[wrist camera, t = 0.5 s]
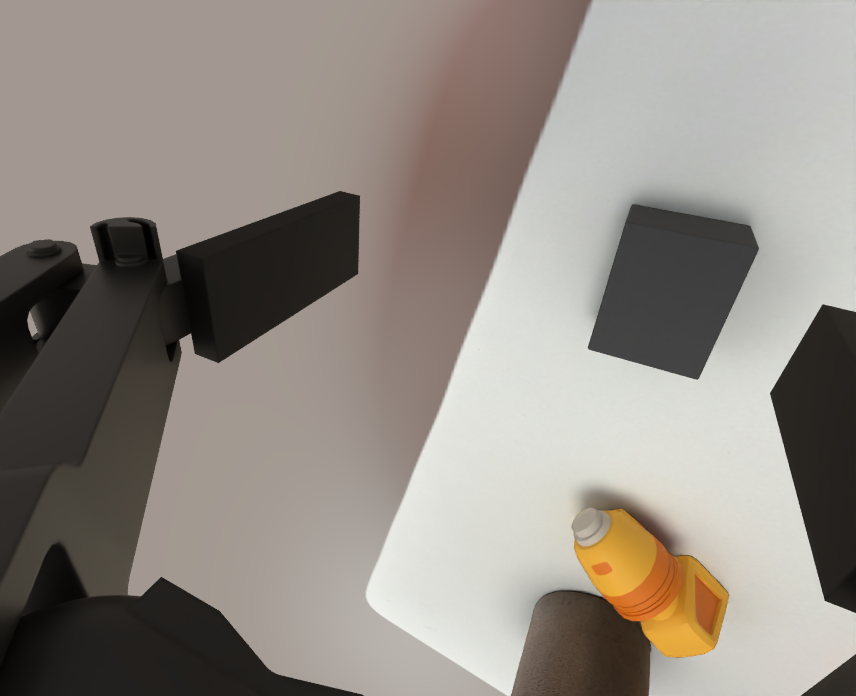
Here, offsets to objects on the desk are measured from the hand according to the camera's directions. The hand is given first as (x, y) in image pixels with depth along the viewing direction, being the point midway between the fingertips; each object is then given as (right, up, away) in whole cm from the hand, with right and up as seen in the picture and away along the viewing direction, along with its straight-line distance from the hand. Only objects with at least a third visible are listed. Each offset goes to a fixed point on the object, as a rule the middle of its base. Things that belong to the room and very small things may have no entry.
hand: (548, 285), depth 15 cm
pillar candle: (+10, -26, +28) cm, 40 cm away
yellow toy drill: (+12, -16, +21) cm, 29 cm away
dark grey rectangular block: (+9, +2, +12) cm, 15 cm away
